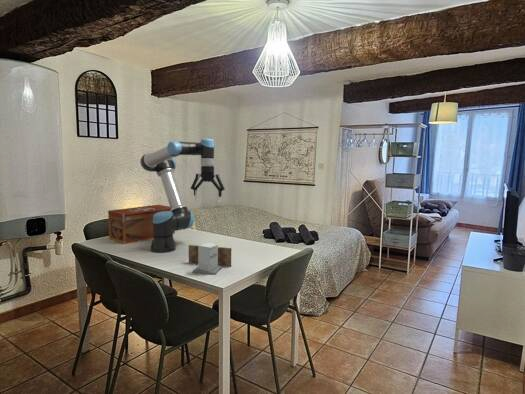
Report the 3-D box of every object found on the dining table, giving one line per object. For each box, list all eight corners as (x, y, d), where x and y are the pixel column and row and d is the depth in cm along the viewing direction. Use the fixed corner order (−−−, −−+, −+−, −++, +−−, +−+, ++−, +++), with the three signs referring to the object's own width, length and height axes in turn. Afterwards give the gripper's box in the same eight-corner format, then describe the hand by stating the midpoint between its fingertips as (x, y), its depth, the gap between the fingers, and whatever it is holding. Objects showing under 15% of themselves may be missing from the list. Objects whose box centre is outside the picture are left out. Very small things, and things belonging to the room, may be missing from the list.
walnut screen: (188, 263, 180) (188, 245, 179) (189, 262, 181) (189, 244, 180) (230, 266, 176) (230, 248, 174) (231, 266, 177) (231, 247, 176)
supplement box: (209, 272, 164) (209, 247, 163) (197, 269, 168) (197, 245, 166) (218, 267, 171) (218, 244, 169) (207, 265, 174) (206, 242, 172)
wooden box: (108, 239, 228) (107, 210, 225) (159, 229, 259) (158, 204, 257) (123, 244, 215) (122, 214, 212) (175, 233, 246) (174, 207, 244)
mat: (192, 272, 166) (192, 270, 166) (200, 266, 175) (200, 264, 175) (215, 274, 163) (215, 272, 163) (221, 268, 173) (221, 266, 173)
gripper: (184, 165, 190) (185, 201, 192) (226, 166, 185) (225, 203, 188) (190, 165, 197) (190, 199, 200) (230, 166, 192) (229, 201, 195)
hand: (207, 201), depth 194 cm, fingers open, 13 cm apart
